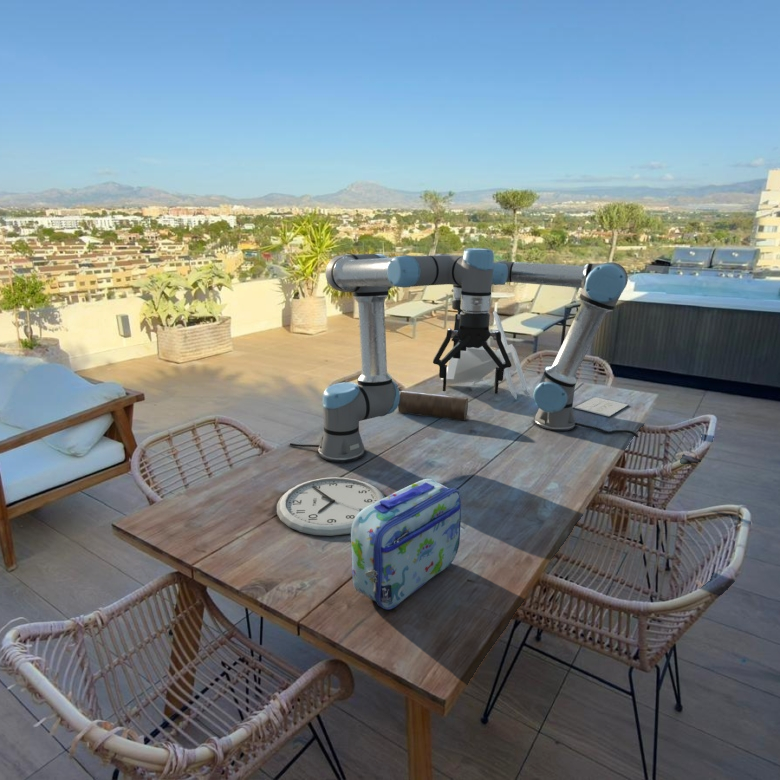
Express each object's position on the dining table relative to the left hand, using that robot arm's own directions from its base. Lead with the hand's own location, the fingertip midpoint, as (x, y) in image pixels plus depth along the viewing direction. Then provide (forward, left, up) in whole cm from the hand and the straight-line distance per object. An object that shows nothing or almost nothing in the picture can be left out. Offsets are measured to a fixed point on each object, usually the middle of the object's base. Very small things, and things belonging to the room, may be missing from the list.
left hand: (469, 391), depth 139 cm
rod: (-37, +55, -31) cm, 73 cm away
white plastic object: (-33, +96, -31) cm, 106 cm away
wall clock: (-28, -24, -31) cm, 49 cm away
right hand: (-28, +57, -5) cm, 64 cm away
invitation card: (+19, +106, -31) cm, 112 cm away
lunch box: (+4, -41, -31) cm, 52 cm away
